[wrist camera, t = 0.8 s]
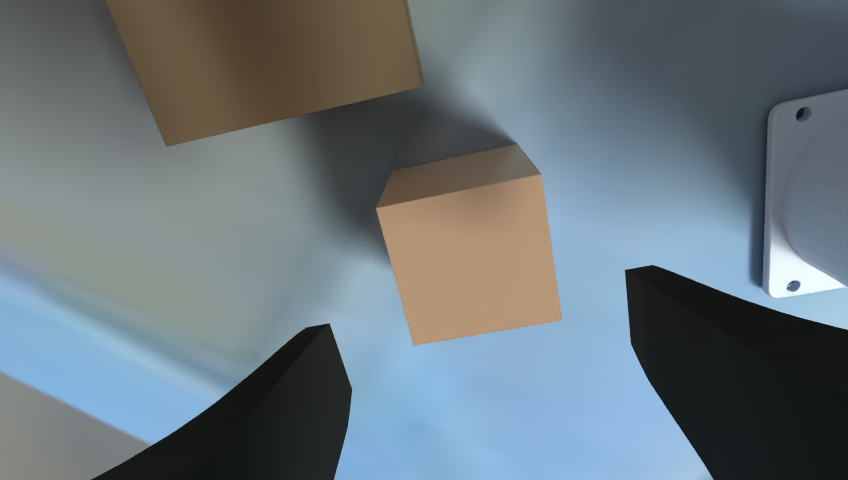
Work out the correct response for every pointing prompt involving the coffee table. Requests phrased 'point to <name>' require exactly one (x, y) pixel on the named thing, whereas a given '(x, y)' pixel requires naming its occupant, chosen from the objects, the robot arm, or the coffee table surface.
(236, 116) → the tan flat block
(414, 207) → the cube
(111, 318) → the coffee table surface
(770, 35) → the coffee table surface
